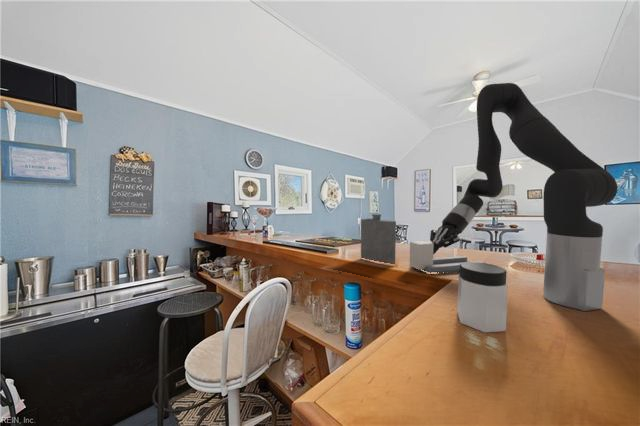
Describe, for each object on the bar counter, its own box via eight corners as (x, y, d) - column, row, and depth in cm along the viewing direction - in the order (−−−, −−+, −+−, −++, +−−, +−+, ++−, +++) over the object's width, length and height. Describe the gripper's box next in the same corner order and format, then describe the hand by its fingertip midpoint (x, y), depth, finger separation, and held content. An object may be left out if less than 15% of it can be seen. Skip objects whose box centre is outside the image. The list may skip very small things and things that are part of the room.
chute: (485, 269, 84) (485, 262, 84) (429, 275, 79) (429, 267, 78) (462, 262, 94) (462, 256, 94) (411, 266, 88) (411, 260, 88)
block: (432, 268, 82) (433, 243, 81) (418, 269, 80) (418, 244, 80) (423, 264, 87) (424, 240, 86) (409, 265, 85) (410, 241, 85)
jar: (483, 311, 54) (485, 261, 53) (516, 331, 46) (519, 272, 45) (447, 313, 53) (449, 262, 52) (474, 334, 45) (477, 274, 44)
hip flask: (396, 265, 90) (397, 214, 89) (391, 267, 88) (392, 215, 86) (363, 257, 102) (364, 212, 101) (358, 259, 99) (358, 213, 98)
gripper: (439, 210, 92) (412, 242, 90) (468, 212, 79) (436, 250, 77) (450, 223, 93) (423, 255, 91) (480, 227, 80) (449, 264, 78)
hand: (429, 252), depth 84 cm, fingers closed
